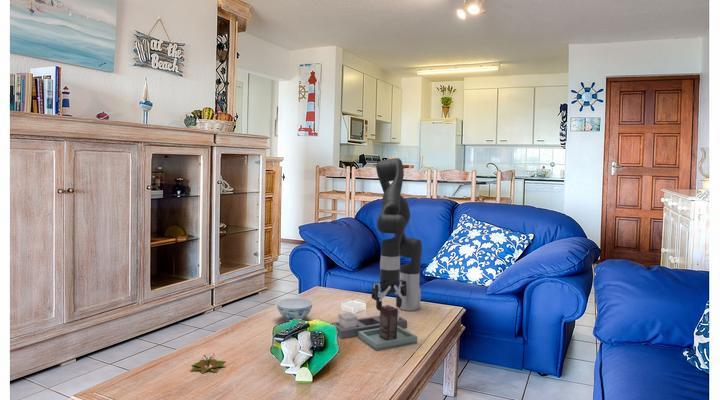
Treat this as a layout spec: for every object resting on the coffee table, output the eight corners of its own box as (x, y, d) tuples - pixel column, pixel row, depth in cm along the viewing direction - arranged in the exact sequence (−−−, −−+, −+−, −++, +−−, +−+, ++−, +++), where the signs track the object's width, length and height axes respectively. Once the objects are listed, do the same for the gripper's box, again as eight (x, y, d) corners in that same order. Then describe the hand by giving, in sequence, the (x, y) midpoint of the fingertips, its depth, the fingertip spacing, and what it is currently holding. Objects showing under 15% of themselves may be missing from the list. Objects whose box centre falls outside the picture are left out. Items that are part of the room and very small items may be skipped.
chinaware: (319, 321, 205) (319, 303, 204) (291, 329, 194) (292, 310, 193) (296, 312, 215) (297, 295, 214) (269, 320, 204) (269, 302, 203)
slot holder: (393, 320, 208) (393, 313, 208) (406, 327, 199) (407, 320, 199) (330, 330, 194) (330, 322, 194) (341, 338, 185) (341, 331, 185)
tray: (396, 331, 195) (397, 325, 195) (417, 342, 183) (417, 336, 182) (357, 337, 186) (358, 331, 186) (376, 350, 174) (376, 344, 174)
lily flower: (197, 359, 163) (197, 346, 163) (232, 361, 163) (232, 348, 163) (182, 375, 152) (182, 360, 151) (220, 376, 151) (220, 362, 151)
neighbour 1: (349, 329, 196) (350, 312, 195) (356, 334, 190) (357, 316, 190) (338, 331, 193) (338, 314, 193) (345, 336, 188) (345, 318, 187)
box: (397, 339, 184) (398, 308, 183) (388, 341, 181) (389, 310, 180) (387, 334, 189) (388, 304, 188) (378, 336, 186) (379, 306, 185)
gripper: (400, 263, 189) (399, 303, 190) (368, 266, 182) (367, 308, 183) (411, 267, 182) (409, 309, 184) (379, 270, 175) (378, 314, 177)
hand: (388, 308), depth 184 cm, fingers open, 8 cm apart
